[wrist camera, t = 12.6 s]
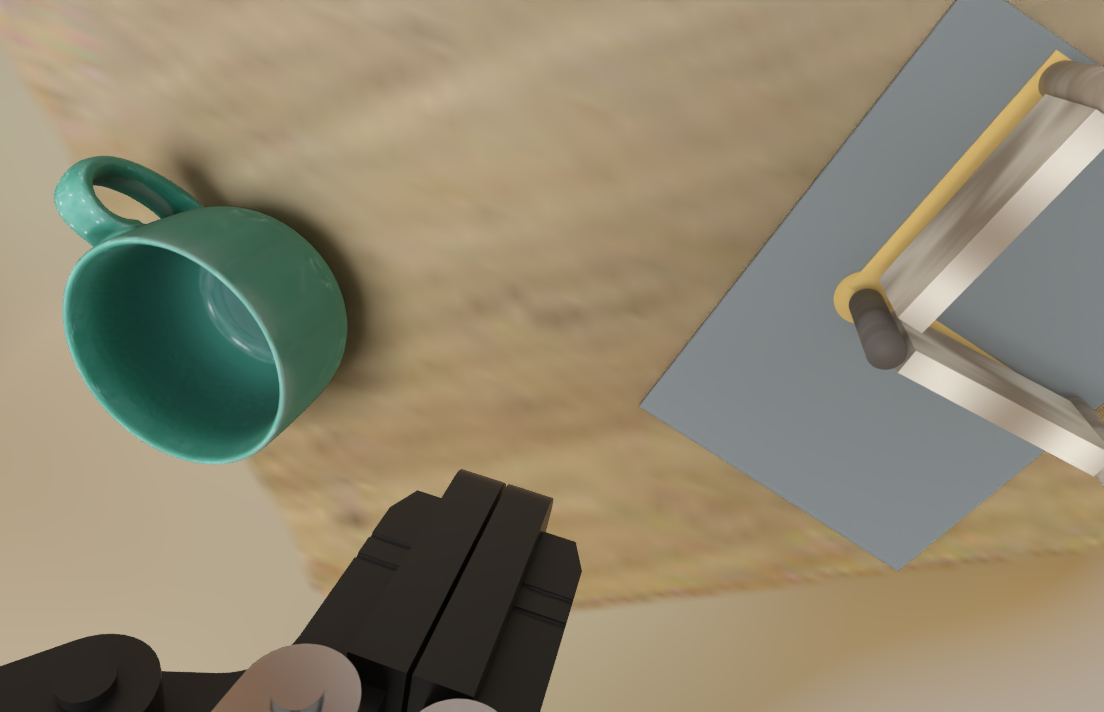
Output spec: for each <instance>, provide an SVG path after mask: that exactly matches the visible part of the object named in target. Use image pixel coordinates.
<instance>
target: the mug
mask: <svg viewBox="0 0 1104 712" xmlns="http://www.w3.org/2000/svg"><path fill="white" fill-rule="evenodd" d="M93 185H97V186H103V187H107V188H110V189H113V190H116V191H118V192H121V193H123V194H125V195H128V196H129V197H131V198H133V199H135V200H136V201H138V202H140V203H141V204H143V205H144V206H146V207H147V208H149V209H150V210H151V211H153V212H154V213H155V214H156V215H157V216H159V217H160V218H161V219H160V220H157V221H154V222H151V223H148V224H143V223H141V222H140V221H139V220H133V219H126V218H122V217H120V216H118V215H116V214H114V213H112V212H111V211H109V210H108V209H107V208H106V207H105V206H104V205H103V204H102V203H101V201H100V200H99V199H98V198H97V196H96V195H95V192H94V189H93ZM54 202H55V205H56V208H57V211H58V212H59V215H60V216H61V217H62V218H63V220H64V221H65V222H66V223H67V224H68V226H70V228H71V229H73V230H74V231H75V232H76V233H77V234H78V235H80V236H81V237H82V238H83V239H84V240H86V241H87V242H88V243H90V244H91V245H92V246H93V248H92V249H90V250H89V251H88V252H86V253H85V254H84V255H83V256H82V258H80V259H79V261H78V262H77V263H76V264H75V266H74V268H73V269H72V271H71V273H70V275H69V277H68V280H67V283H66V286H65V290H64V297H63V324H64V330H65V336H66V340H67V343H68V347H69V350H70V353H71V355H72V357H73V360H74V362H75V364H76V366H77V368H78V370H79V372H80V374H81V376H82V378H83V380H84V382H85V383H86V385H87V387H88V388H89V390H90V391H91V392H92V394H93V395H94V396H95V398H96V399H97V400H98V402H99V403H100V404H101V405H102V406H103V408H104V409H105V410H106V411H107V412H108V413H109V414H110V415H111V416H112V417H113V418H114V419H115V420H116V421H117V422H118V423H119V424H120V425H122V426H123V427H124V428H125V429H126V430H128V431H129V432H130V433H132V434H133V435H134V436H136V437H137V438H139V439H140V440H142V441H143V442H145V443H147V444H148V445H150V446H152V447H153V448H155V449H157V450H159V451H162V452H163V453H166V454H168V455H171V456H174V457H176V458H179V459H183V460H186V461H190V462H194V463H201V464H226V463H233V462H237V461H239V460H243V459H245V458H248V457H250V456H252V455H254V454H255V453H257V452H258V451H260V450H261V449H263V448H264V447H265V446H267V445H268V444H269V443H270V442H271V441H272V440H274V439H275V438H276V437H277V436H278V435H279V434H280V433H281V432H283V431H284V430H285V429H286V428H287V427H288V426H289V425H290V424H291V423H292V422H293V421H294V420H295V419H296V418H297V417H298V416H299V415H300V414H301V413H302V412H303V411H305V410H306V408H307V407H308V406H309V405H310V404H311V403H312V402H313V401H314V400H315V399H316V398H317V397H318V396H319V395H320V394H321V393H322V391H323V390H324V389H325V388H326V387H327V385H328V384H329V382H330V381H331V380H332V378H333V376H334V375H335V373H336V371H337V369H338V367H339V365H340V363H341V360H342V357H343V354H344V351H345V346H346V340H347V314H346V309H345V304H344V300H343V296H342V293H341V291H340V288H339V286H338V283H337V281H336V279H335V277H334V275H333V273H332V271H331V270H330V268H329V266H328V265H327V263H326V262H325V261H324V259H323V258H322V257H321V255H320V254H319V253H318V252H317V251H316V249H315V248H314V247H313V246H312V245H311V244H310V243H309V242H308V241H307V240H306V239H304V238H303V237H302V236H301V235H300V234H298V233H297V232H296V231H294V230H293V229H292V228H290V227H289V226H287V225H286V224H284V223H282V222H280V221H279V220H277V219H275V218H273V217H271V216H268V215H266V214H263V213H260V212H257V211H254V210H250V209H245V208H239V207H230V206H214V207H204V206H203V205H202V204H201V203H200V202H199V201H197V200H196V199H195V198H194V197H193V196H191V195H190V194H189V193H188V192H186V191H185V190H183V189H182V188H180V187H179V186H177V185H176V184H174V183H173V182H171V181H170V180H168V179H166V178H165V177H163V176H161V175H160V174H158V173H156V172H154V171H152V170H150V169H148V168H146V167H144V166H142V165H140V164H137V163H134V162H132V161H129V160H125V159H122V158H117V157H112V156H97V157H92V158H87V159H84V160H81V161H79V162H78V163H76V164H74V165H73V166H72V167H70V168H69V169H68V170H67V171H66V172H65V174H64V175H63V176H62V178H61V179H60V181H59V183H58V184H57V186H56V189H55V193H54Z"/></svg>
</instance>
